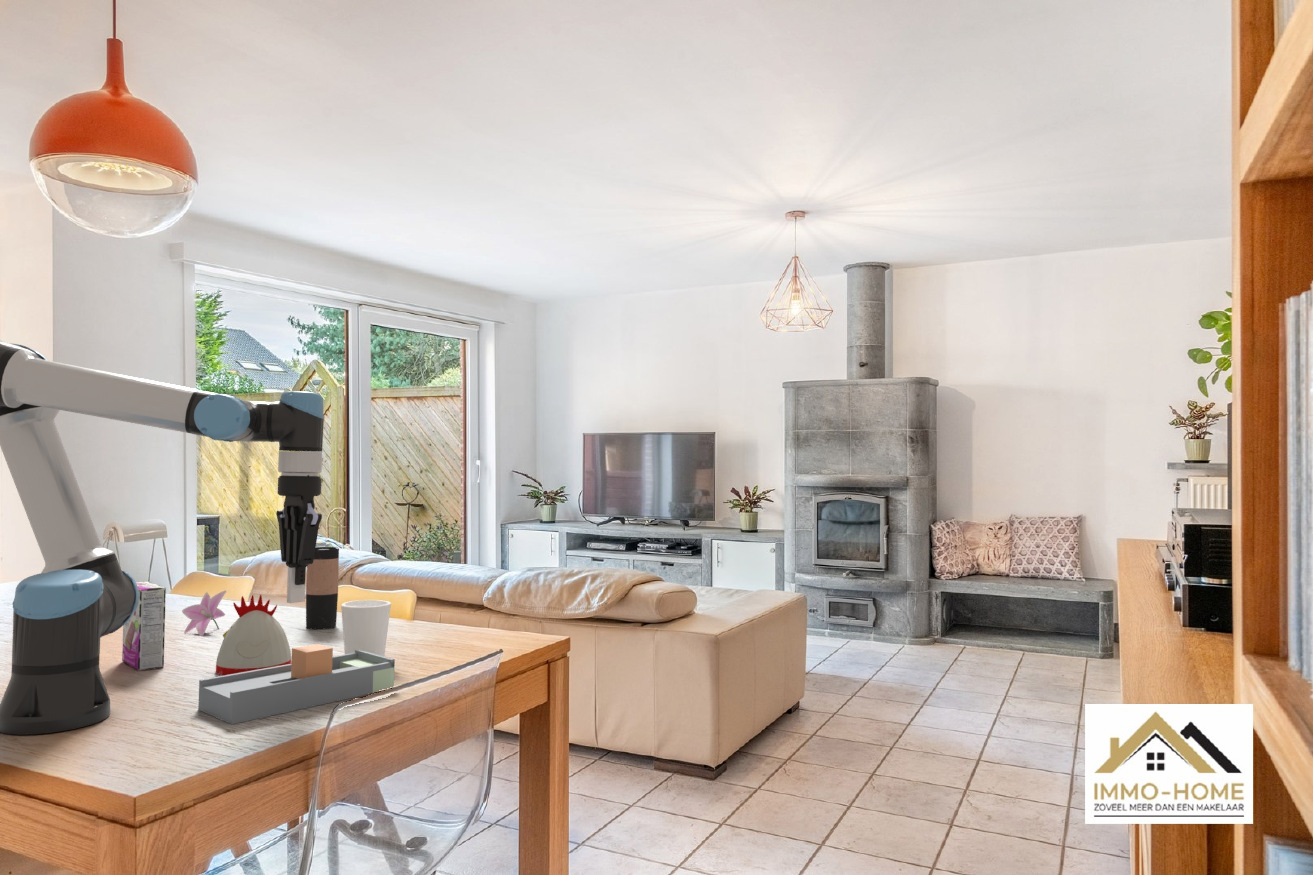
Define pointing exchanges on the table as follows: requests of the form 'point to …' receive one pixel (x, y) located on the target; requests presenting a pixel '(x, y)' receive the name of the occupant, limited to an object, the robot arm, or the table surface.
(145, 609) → the candy bar box
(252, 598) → the kitchen timer
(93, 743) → the table surface
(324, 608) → the travel mug
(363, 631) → the cup
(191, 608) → the lily
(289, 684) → the box
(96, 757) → the table surface
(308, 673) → the block
